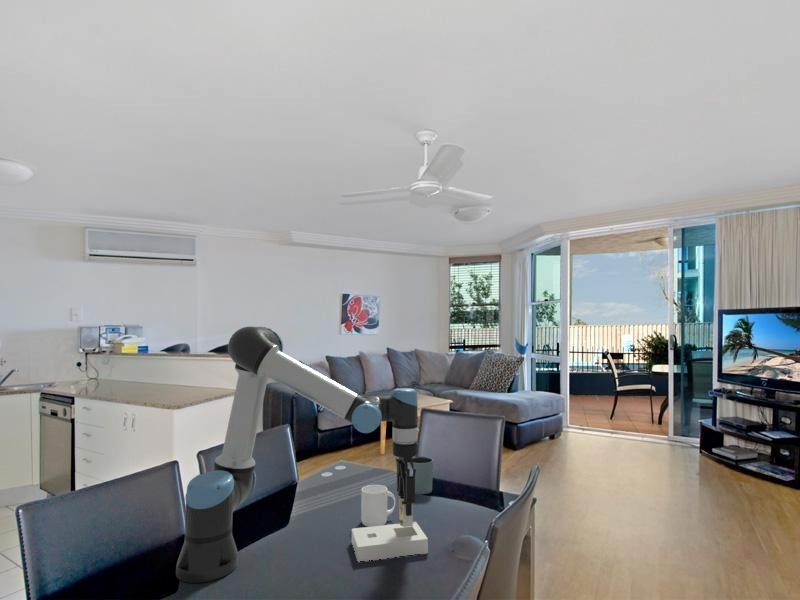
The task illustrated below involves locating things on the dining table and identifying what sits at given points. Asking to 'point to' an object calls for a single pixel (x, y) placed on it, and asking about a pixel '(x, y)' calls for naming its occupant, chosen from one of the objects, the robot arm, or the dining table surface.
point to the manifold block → (388, 541)
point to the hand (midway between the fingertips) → (405, 522)
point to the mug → (375, 505)
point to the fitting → (401, 511)
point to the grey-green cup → (423, 474)
